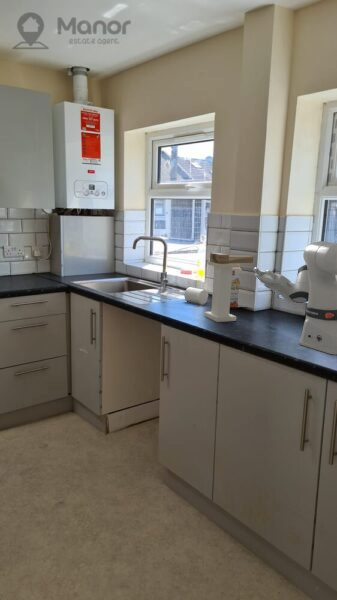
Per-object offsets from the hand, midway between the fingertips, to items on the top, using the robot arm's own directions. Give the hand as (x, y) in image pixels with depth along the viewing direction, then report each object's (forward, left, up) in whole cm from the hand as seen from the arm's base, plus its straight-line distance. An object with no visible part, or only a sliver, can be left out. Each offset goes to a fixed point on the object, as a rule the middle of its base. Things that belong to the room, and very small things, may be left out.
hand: (260, 270), depth 215 cm
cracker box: (+22, 0, -22) cm, 31 cm away
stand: (0, +21, -22) cm, 31 cm away
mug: (+36, +13, -23) cm, 44 cm away
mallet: (0, +16, +4) cm, 17 cm away
